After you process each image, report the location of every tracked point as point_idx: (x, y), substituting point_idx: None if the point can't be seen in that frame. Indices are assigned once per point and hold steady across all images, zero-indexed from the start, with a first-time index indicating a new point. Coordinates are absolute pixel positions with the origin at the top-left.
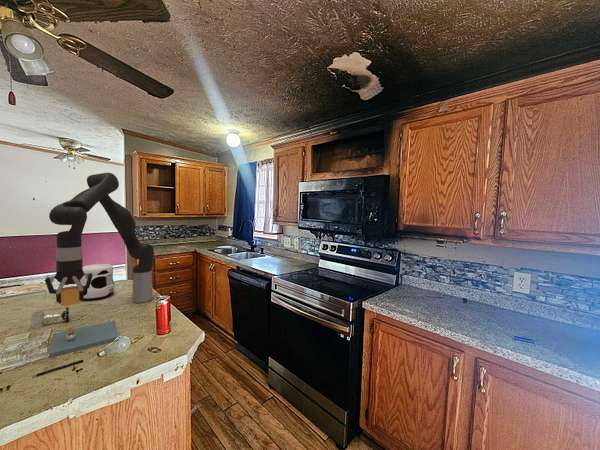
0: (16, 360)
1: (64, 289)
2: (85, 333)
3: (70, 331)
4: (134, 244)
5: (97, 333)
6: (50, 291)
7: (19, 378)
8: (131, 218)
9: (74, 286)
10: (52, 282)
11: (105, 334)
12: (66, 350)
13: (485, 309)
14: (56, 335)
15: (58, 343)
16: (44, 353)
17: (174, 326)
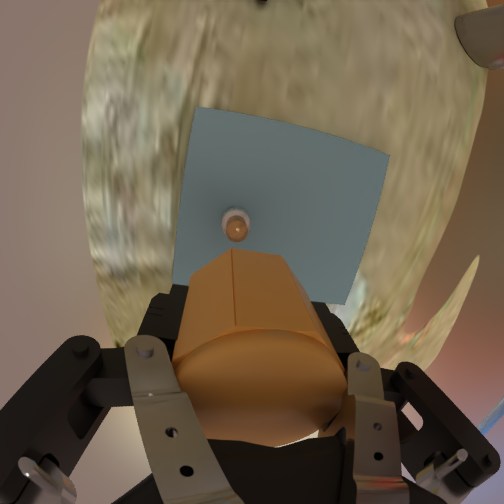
0: (105, 228)
1: (202, 429)
2: (285, 199)
3: (233, 240)
4: None
5: (314, 232)
6: (87, 402)
7: (127, 331)
8: None
9: (317, 379)
10: (69, 479)
11: (328, 262)
12: None
13: (499, 416)
14: (200, 134)
15: (197, 224)
16: (162, 236)
17: (442, 307)
